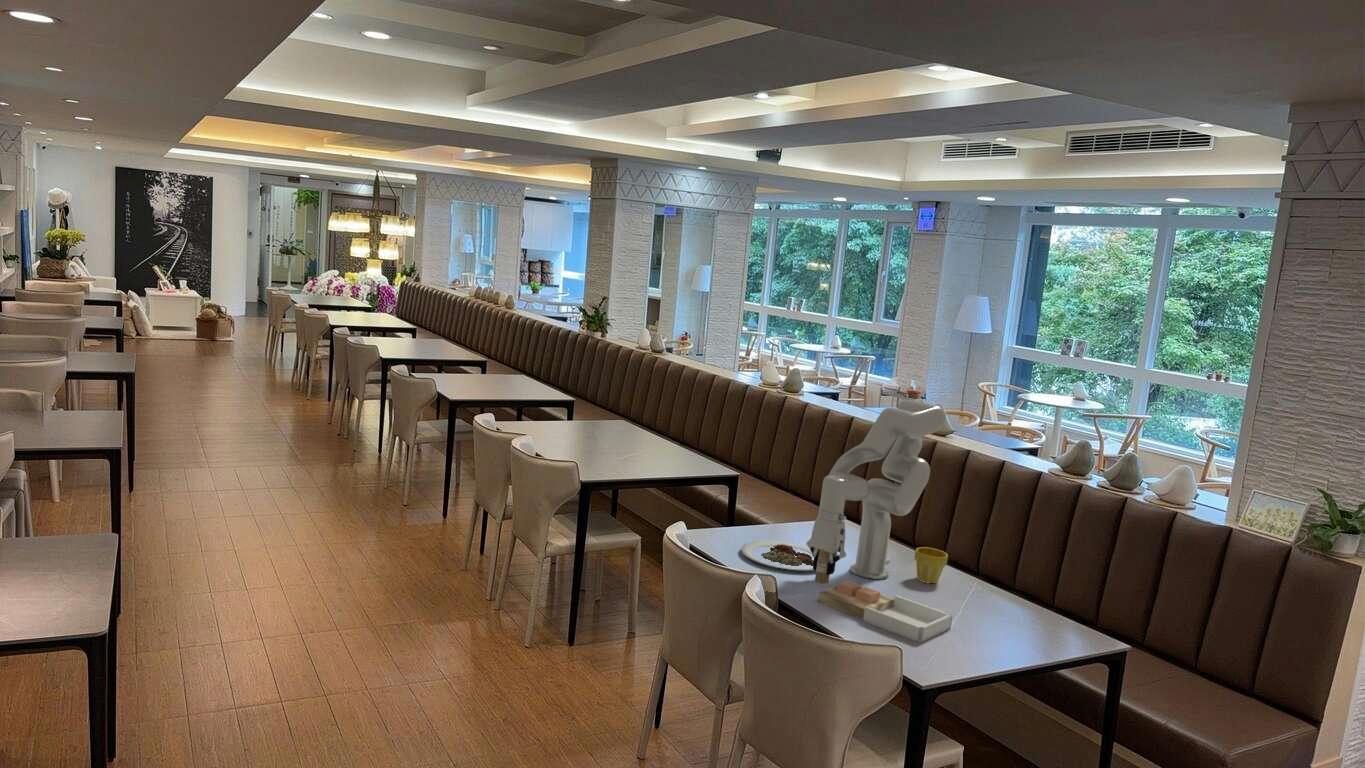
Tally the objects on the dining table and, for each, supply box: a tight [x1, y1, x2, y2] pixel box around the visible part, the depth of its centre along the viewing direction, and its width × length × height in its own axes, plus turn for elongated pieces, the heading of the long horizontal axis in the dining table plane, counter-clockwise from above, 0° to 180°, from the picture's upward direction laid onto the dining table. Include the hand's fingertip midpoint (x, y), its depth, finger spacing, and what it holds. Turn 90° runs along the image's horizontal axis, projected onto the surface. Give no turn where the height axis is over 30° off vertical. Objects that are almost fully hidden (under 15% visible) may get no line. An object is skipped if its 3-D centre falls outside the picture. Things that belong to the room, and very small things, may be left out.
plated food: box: [740, 539, 814, 572], centre depth 316 cm, size 30×30×3 cm
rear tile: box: [837, 580, 862, 597], centre depth 280 cm, size 5×5×2 cm
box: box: [862, 595, 954, 644], centre depth 268 cm, size 18×18×4 cm
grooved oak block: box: [817, 586, 895, 620], centre depth 279 cm, size 16×16×3 cm
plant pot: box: [914, 546, 949, 584], centre depth 310 cm, size 10×10×10 cm
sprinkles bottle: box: [814, 545, 830, 584], centre depth 297 cm, size 5×5×14 cm
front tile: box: [856, 586, 881, 604], centre depth 276 cm, size 5×5×2 cm
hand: (823, 571), depth 297 cm, fingers closed on sprinkles bottle, 4 cm apart
